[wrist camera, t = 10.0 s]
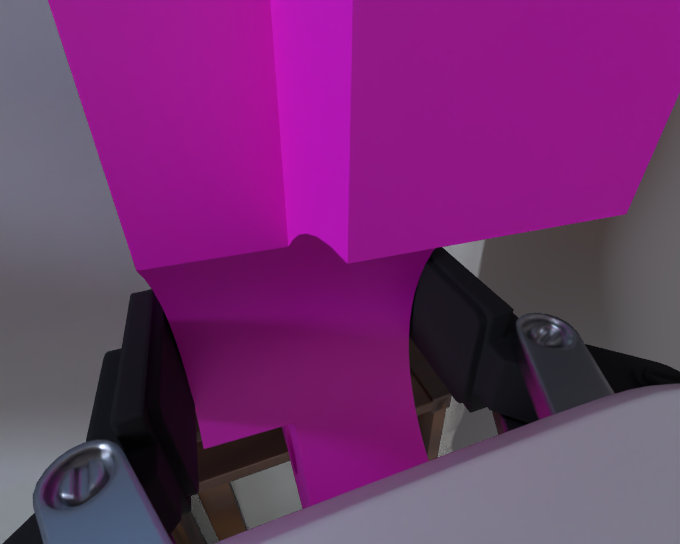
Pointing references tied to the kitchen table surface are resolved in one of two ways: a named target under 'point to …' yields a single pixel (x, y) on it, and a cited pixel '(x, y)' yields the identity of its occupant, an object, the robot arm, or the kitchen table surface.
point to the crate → (272, 450)
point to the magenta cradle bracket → (350, 181)
